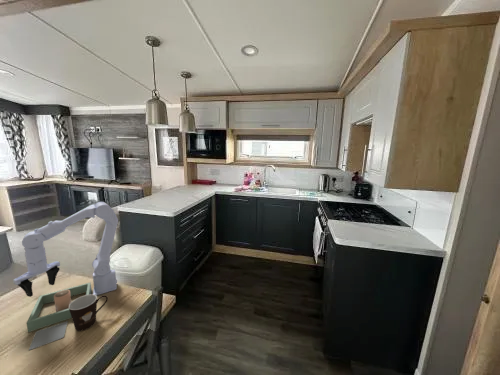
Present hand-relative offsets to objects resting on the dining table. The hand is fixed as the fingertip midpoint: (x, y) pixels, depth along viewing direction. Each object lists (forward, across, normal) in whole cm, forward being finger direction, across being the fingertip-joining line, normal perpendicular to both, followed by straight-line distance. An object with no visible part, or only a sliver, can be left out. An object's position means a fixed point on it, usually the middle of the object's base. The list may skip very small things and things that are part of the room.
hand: (41, 289), depth 86 cm
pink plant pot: (+10, -3, +7) cm, 12 cm away
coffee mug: (+10, 0, +26) cm, 28 cm away
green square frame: (+10, -3, +7) cm, 12 cm away
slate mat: (+10, +8, +17) cm, 21 cm away
